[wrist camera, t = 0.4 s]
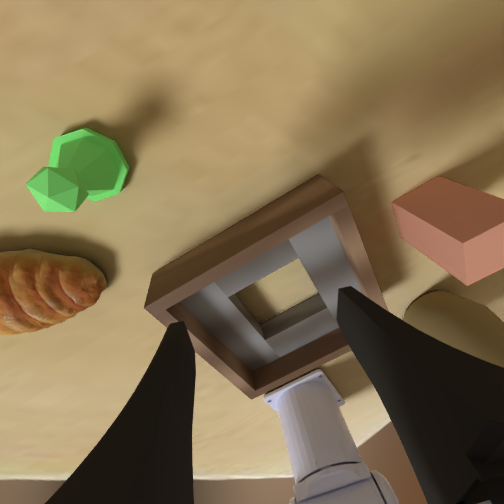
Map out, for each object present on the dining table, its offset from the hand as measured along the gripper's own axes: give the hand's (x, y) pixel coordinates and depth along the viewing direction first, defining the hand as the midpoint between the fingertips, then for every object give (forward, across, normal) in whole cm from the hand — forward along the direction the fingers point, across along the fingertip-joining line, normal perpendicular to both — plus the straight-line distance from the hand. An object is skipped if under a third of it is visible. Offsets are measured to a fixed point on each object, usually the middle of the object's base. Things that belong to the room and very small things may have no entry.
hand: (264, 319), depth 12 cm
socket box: (+10, -2, +7) cm, 12 cm away
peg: (+10, -15, +1) cm, 18 cm away
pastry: (+10, +16, +1) cm, 19 cm away
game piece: (+10, +8, -6) cm, 15 cm away
